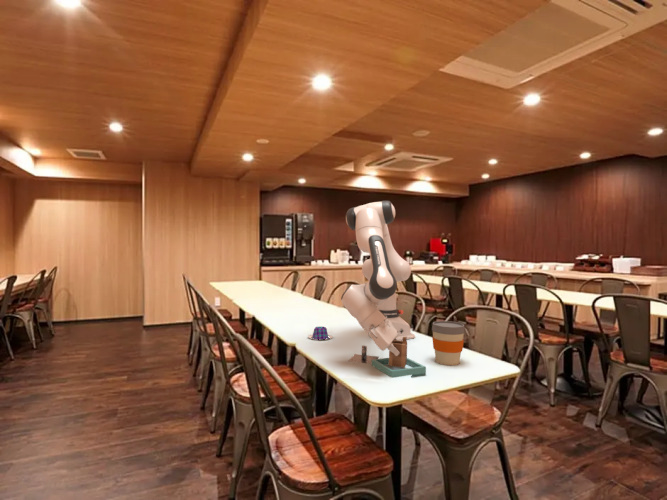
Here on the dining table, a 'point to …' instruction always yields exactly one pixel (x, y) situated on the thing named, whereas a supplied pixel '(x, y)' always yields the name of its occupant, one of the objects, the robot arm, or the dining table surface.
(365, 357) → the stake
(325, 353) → the dining table surface
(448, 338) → the reusable coffee cup
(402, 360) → the brown wooden holder
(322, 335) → the purple plaid hat
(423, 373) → the tray
